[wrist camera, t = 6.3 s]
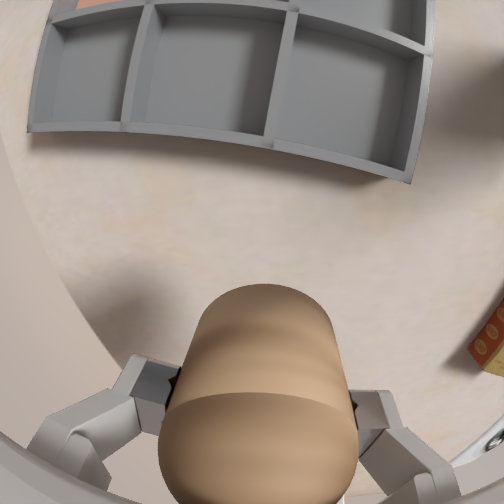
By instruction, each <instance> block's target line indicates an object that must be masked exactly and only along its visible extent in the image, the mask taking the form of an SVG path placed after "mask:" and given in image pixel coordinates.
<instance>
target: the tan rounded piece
mask: <svg viewBox="0 0 504 504" xmlns="http://www.w3.org/2000/svg"><path fill="white" fill-rule="evenodd" d="M358 455H359V441H358V432H357V427H356V422H355V417H354V413H353V408H352V404H351V399H350V395H349V391H348V386H347V382H346V378H345V374H344V370H343V366H342V362H341V358H340V354H339V350H338V346H337V342H336V338H335V334H334V331H333V327H332V324H331V321H330V319H329V317H328V315H327V313H326V312H325V310H324V309H323V308H322V307H321V306H320V305H319V304H318V303H317V302H316V301H315V300H314V299H312V298H311V297H309V296H308V295H306V294H304V293H302V292H300V291H298V290H295V289H292V288H290V287H286V286H281V285H274V284H254V285H247V286H243V287H239V288H236V289H233V290H231V291H228V292H227V293H225V294H223V295H221V296H220V297H218V298H217V299H215V300H214V301H213V302H212V303H211V304H210V305H209V306H208V307H207V308H206V310H205V311H204V312H203V314H202V316H201V318H200V320H199V323H198V326H197V328H196V331H195V334H194V336H193V339H192V342H191V344H190V347H189V350H188V352H187V355H186V358H185V361H184V363H183V366H182V369H181V371H180V374H179V377H178V380H177V382H176V385H175V388H174V391H173V394H172V396H171V399H170V402H169V405H168V408H167V410H166V413H165V416H164V419H163V422H162V426H161V429H160V433H159V438H158V457H159V465H160V469H161V472H162V476H163V478H164V480H165V483H166V485H167V487H168V489H169V490H170V492H171V494H172V495H173V497H174V498H175V499H176V501H177V502H178V503H179V504H337V503H338V502H339V500H340V499H341V498H342V496H343V495H344V493H345V492H346V490H347V489H348V487H349V486H350V483H351V481H352V479H353V476H354V474H355V470H356V466H357V462H358Z"/></svg>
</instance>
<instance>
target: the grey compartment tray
mask: <svg viewBox="0 0 504 504" xmlns="http://www.w3.org/2000/svg"><path fill="white" fill-rule="evenodd" d="M434 20H435V0H54V2H53V4H52V7H51V10H50V13H49V16H48V20H47V23H46V26H45V30H44V33H43V37H42V41H41V45H40V49H39V53H38V58H37V62H36V67H35V72H34V78H33V84H32V90H31V97H30V105H29V114H28V125H27V133H30V132H52V131H108V132H132V133H148V134H161V135H172V136H182V137H191V138H200V139H208V140H216V141H223V142H230V143H237V144H243V145H249V146H255V147H261V148H266V149H272V150H277V151H282V152H287V153H292V154H297V155H302V156H306V157H311V158H315V159H320V160H324V161H328V162H332V163H336V164H340V165H344V166H348V167H352V168H356V169H360V170H363V171H367V172H370V173H374V174H377V175H381V176H384V177H388V178H391V179H394V180H397V181H401V182H404V183H407V184H411V180H412V176H413V172H414V168H415V164H416V160H417V155H418V151H419V146H420V141H421V136H422V131H423V126H424V120H425V114H426V108H427V101H428V94H429V87H430V78H431V69H432V58H433V45H434Z"/></svg>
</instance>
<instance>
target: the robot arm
mask: <svg viewBox="0 0 504 504" xmlns="http://www.w3.org/2000/svg"><path fill="white" fill-rule="evenodd" d="M181 369H182V367H181V366H177V365H174V364H170V363H166V362H163V361H159V360H156V359H152V358H148V357H145V356H141V355H138V354H135V353H134V354H133V355H132V356H131V357H130V358H129V360H128V362H127V364H126V365H125V367H124V369H123V371H122V372H121V374H120V376H119V378H118V379H117V381H116V383H115V385H114V386H113V388H112V390H110V389H108V388H107V389H105V390H103V391H101V392H99V393H97V394H95V395H93V396H91V397H89V398H87V399H84V400H82V401H80V402H78V403H76V404H74V405H72V406H69V407H67V408H65V409H63V410H61V411H59V412H56V413H54V414H52V415H50V416H47V417H46V418H45V420H44V421H43V423H42V424H41V426H40V428H39V429H38V431H37V432H36V434H35V435H34V437H33V439H32V440H31V442H30V444H29V445H28V447H27V449H25V448H23V447H22V446H20V445H19V444H17V443H16V442H14V441H13V440H11V439H10V438H9V437H7V436H6V435H4V434H3V433H2V432H0V504H141V503H137V502H134V501H132V500H129V499H126V498H123V497H120V496H118V495H115V494H112V493H110V492H107V489H108V486H109V483H110V481H111V476H110V474H109V472H108V471H107V469H106V467H105V466H104V464H103V463H102V460H104V459H105V458H107V457H108V456H110V455H111V454H113V453H114V452H115V451H117V450H118V449H120V448H121V447H123V446H124V445H125V444H127V443H128V442H129V441H131V440H132V439H134V438H135V437H136V436H138V435H139V434H140V433H141V431H142V432H146V433H149V434H153V435H157V436H159V433H160V429H161V426H162V422H163V419H164V416H165V413H166V410H167V408H168V405H169V402H170V399H171V396H172V394H173V391H174V388H175V385H176V382H177V380H178V377H179V374H180V371H181ZM348 391H349V395H350V399H351V404H352V408H353V413H354V417H355V422H356V427H357V432H358V441H359V455H358V459H359V461H360V462H361V463H362V465H363V466H364V467H365V469H366V470H367V471H368V472H369V474H370V475H371V476H372V477H373V479H374V480H375V481H376V482H377V484H378V485H379V486H380V487H381V489H382V490H383V491H384V492H385V494H386V495H387V496H388V497H387V498H385V499H384V500H382V501H381V502H379V503H378V504H504V477H503V478H501V479H499V480H497V481H495V482H493V483H491V484H489V485H487V486H485V487H482V488H480V489H478V490H476V491H473V492H471V493H469V494H466V495H463V496H461V493H460V490H459V486H458V483H457V480H456V477H455V474H454V471H453V468H452V465H450V464H449V463H448V462H447V461H446V460H445V459H443V458H442V457H441V456H440V455H439V454H437V453H436V452H435V451H434V450H433V449H432V448H430V447H429V446H428V445H427V444H426V443H425V442H423V441H422V440H421V439H420V438H419V437H418V436H417V435H415V434H414V433H413V432H412V431H411V430H410V429H408V428H404V427H403V424H402V421H401V418H400V415H399V413H398V410H397V407H396V404H395V401H394V398H393V396H392V393H391V392H390V391H389V390H349V389H348ZM337 504H344V495H343V496H342V498H341V499H340V500H339V502H338V503H337Z"/></svg>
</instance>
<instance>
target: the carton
mask: <svg viewBox="0 0 504 504" xmlns="http://www.w3.org/2000/svg"><path fill="white" fill-rule="evenodd" d="M467 349H468V350H469V352H470V354H471V355H472V357H473V358H474V359H475V361H476V362H477V363H478V365H479V366H480V367H481V368H482V370H484V371H485V372H488V373H491V374H495V375H498V376H502V377H504V298H503V300H502V302H501V303H500V305H499V306H498V308H497V309H496V311H495V312H494V314H493V315H492V316H491V318H490V319H489V321H488V322H487V324H486V325H485V326H484V328H483V329H482V330H481V332H480V333H479V334H478V336H477V337H476V338H475V340H474V341H473V342H472V343H471V345H470V346H469V347H468V348H467Z"/></svg>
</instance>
